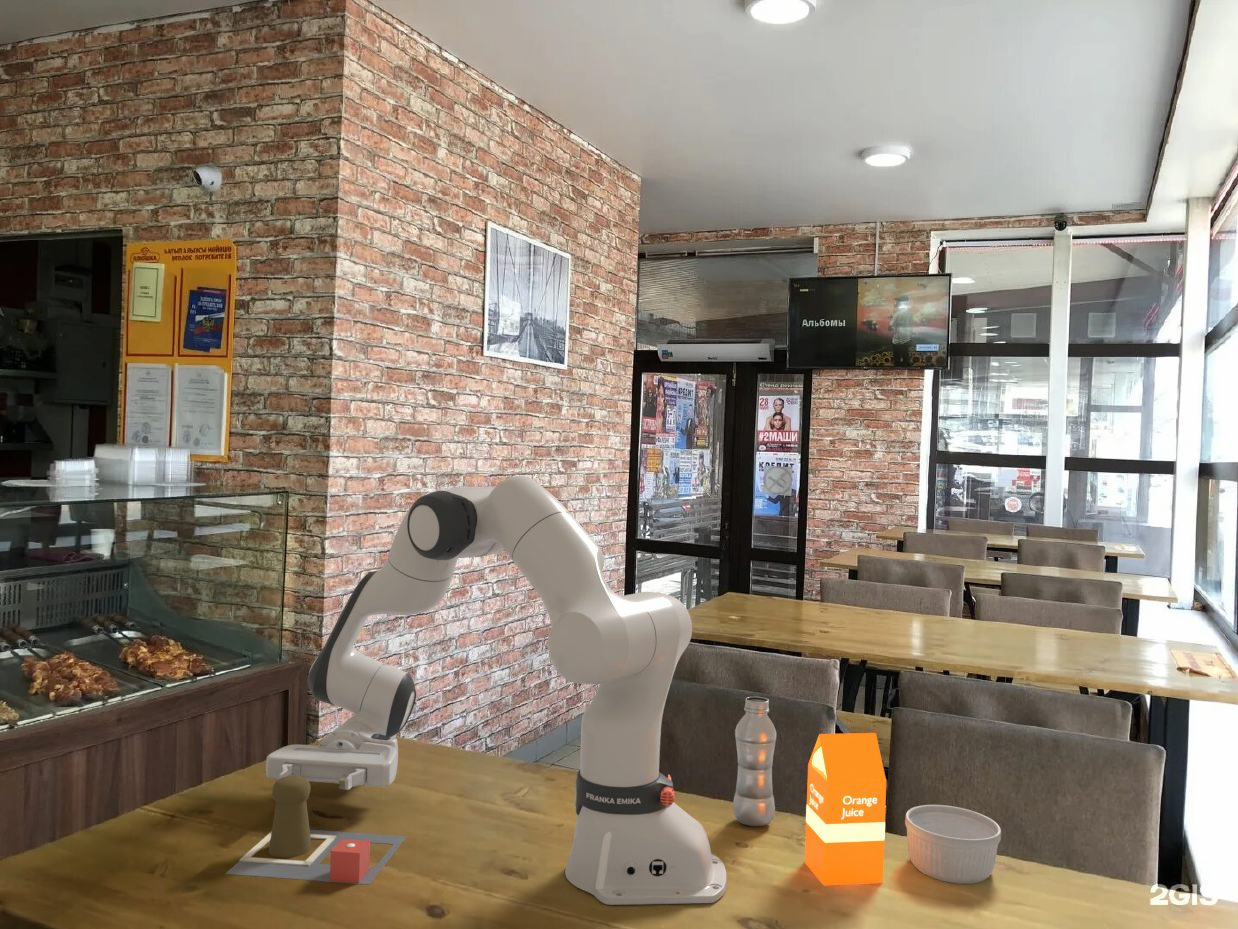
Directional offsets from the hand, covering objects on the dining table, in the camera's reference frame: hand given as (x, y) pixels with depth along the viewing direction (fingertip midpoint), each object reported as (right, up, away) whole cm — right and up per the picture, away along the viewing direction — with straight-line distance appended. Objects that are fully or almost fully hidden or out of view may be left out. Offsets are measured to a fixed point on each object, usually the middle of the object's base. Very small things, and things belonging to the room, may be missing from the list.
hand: (313, 782), depth 148 cm
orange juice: (+78, -10, -9) cm, 80 cm away
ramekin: (+95, -11, -6) cm, 96 cm away
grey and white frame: (+4, -8, -10) cm, 13 cm away
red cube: (+10, -7, -16) cm, 20 cm away
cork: (-1, -8, -8) cm, 11 cm away
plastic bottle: (+68, -9, +8) cm, 69 cm away
